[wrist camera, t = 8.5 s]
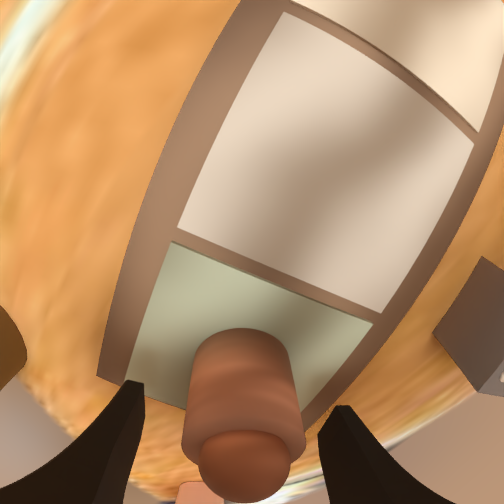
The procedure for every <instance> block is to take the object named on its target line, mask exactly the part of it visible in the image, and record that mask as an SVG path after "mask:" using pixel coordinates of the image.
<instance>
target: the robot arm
mask: <svg viewBox="0 0 504 504" xmlns="http://www.w3.org/2000/svg"><path fill="white" fill-rule="evenodd" d="M144 419H145V398H144V383H141V382H137V381H132V380H126V381H125V382H124V383H123V385H122V386H121V388H120V389H119V391H118V392H117V393H116V395H115V396H114V397H113V399H112V400H111V401H110V402H109V404H108V405H107V406H106V407H105V409H104V410H103V411H102V412H101V413H100V414H99V416H98V417H97V418H96V419H95V420H94V421H93V422H92V424H91V425H90V426H89V427H88V428H87V429H86V430H85V431H84V432H83V433H82V434H81V435H80V436H79V437H78V438H77V439H76V440H75V441H74V442H72V443H71V444H70V445H69V446H68V447H67V448H66V449H64V450H63V451H62V452H61V453H60V454H58V455H57V456H56V457H54V458H53V459H52V460H50V461H49V462H48V463H46V464H45V465H43V466H42V467H40V468H39V469H37V470H35V471H34V472H33V473H31V474H29V475H27V476H25V477H24V478H22V479H20V480H18V481H16V482H14V483H12V484H9V485H7V486H5V487H3V488H0V504H123V499H124V493H125V489H126V485H127V481H128V478H129V475H130V471H131V468H132V465H133V462H134V459H135V455H136V452H137V449H138V446H139V443H140V439H141V435H142V430H143V424H144ZM318 448H319V457H320V461H321V466H322V470H323V474H324V479H325V483H326V487H327V491H328V495H329V500H330V504H455V503H453V502H451V501H449V500H447V499H445V498H443V497H441V496H440V495H438V494H436V493H435V492H433V491H432V490H430V489H429V488H427V487H426V486H424V485H423V484H422V483H420V482H419V481H417V480H416V479H415V478H414V477H413V476H412V475H410V474H409V473H408V472H407V471H406V470H405V469H403V468H402V467H401V466H400V465H399V464H398V463H397V462H396V461H395V460H394V458H393V457H392V456H391V455H390V454H389V453H388V452H387V451H386V450H385V449H384V448H383V446H382V445H381V444H380V443H379V442H378V441H377V439H376V438H375V437H374V436H373V434H372V433H371V432H370V431H369V429H368V428H367V427H366V426H365V424H364V423H363V422H362V421H361V419H360V418H359V417H358V415H357V414H356V413H355V412H354V410H353V409H352V408H351V407H350V405H336V406H335V408H334V409H333V411H332V413H331V414H330V416H329V417H328V419H327V421H326V422H325V424H324V425H323V427H322V428H321V430H320V431H319V433H318Z"/></svg>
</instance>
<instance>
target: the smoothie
mask: <svg viewBox="0 0 504 504" xmlns="http://www.w3.org/2000/svg"><path fill="white" fill-rule="evenodd" d="M175 504H224V499H223V498H221V497H219V496H218V495H216V494H215V493H213V492H212V491H211V490H210V489H209V488H208V487H207V485H206V484H205V483H204V482H186V483H183V484H181V485H180V487H179V491H178V495H177V499H176V503H175Z"/></svg>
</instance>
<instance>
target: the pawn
mask: <svg viewBox="0 0 504 504" xmlns="http://www.w3.org/2000/svg"><path fill="white" fill-rule="evenodd" d="M181 446H182V450H183V452H184V454H185V455H186V456H187V458H188V459H190V460H191V461H192V462H193V463H195V464H197V465H198V467H199V472H200V475H201V477H202V479H203V481H204V483H205V484H206V485H207V487H208V488H209V489H210V490H211V491H212V492H213V493H215V494H216V495H218V496H219V497H221V498H223V499H225V500H228V501H232V502H236V503H254V502H258V501H261V500H264V499H266V498H268V497H270V496H272V495H273V494H275V493H276V492H277V491H278V490H279V489H280V488H281V487H282V486H283V484H284V483H285V481H286V479H287V477H288V475H289V471H290V465H291V463H293V462H294V461H295V460H297V459H298V458H299V457H300V456H301V455H302V454H303V452H304V450H305V448H306V438H305V433H304V428H303V423H302V418H301V413H300V408H299V403H298V398H297V393H296V388H295V384H294V379H293V374H292V369H291V364H290V359H289V355H288V352H287V350H286V348H285V347H284V345H283V344H282V343H281V342H280V341H279V340H278V339H277V338H275V337H274V336H272V335H270V334H268V333H266V332H263V331H260V330H256V329H251V328H233V329H227V330H223V331H220V332H217V333H215V334H213V335H211V336H210V337H208V338H207V339H206V340H204V341H203V342H202V343H201V344H200V346H199V347H198V349H197V350H196V353H195V356H194V362H193V368H192V374H191V380H190V387H189V393H188V400H187V407H186V414H185V421H184V428H183V435H182V443H181Z"/></svg>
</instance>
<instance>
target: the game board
mask: <svg viewBox="0 0 504 504" xmlns="http://www.w3.org/2000/svg"><path fill="white" fill-rule="evenodd" d="M503 125H504V3H503V2H502V1H501V0H241V1H240V3H239V4H238V6H237V7H236V9H235V11H234V12H233V14H232V15H231V17H230V19H229V20H228V22H227V24H226V25H225V27H224V29H223V30H222V32H221V34H220V35H219V37H218V39H217V41H216V42H215V44H214V46H213V48H212V50H211V51H210V53H209V55H208V57H207V59H206V60H205V62H204V64H203V66H202V68H201V70H200V72H199V74H198V76H197V78H196V79H195V81H194V83H193V85H192V87H191V89H190V91H189V93H188V95H187V98H186V100H185V102H184V104H183V106H182V108H181V110H180V112H179V114H178V117H177V119H176V121H175V123H174V125H173V128H172V130H171V132H170V134H169V137H168V139H167V141H166V144H165V146H164V148H163V151H162V153H161V156H160V158H159V160H158V163H157V165H156V168H155V170H154V173H153V176H152V178H151V181H150V183H149V186H148V189H147V191H146V194H145V197H144V200H143V202H142V205H141V208H140V211H139V214H138V217H137V219H136V222H135V225H134V228H133V231H132V235H131V238H130V241H129V244H128V247H127V250H126V254H125V257H124V260H123V264H122V267H121V271H120V274H119V278H118V281H117V285H116V289H115V292H114V296H113V300H112V304H111V308H110V312H109V316H108V321H107V325H106V330H105V334H104V339H103V343H102V348H101V353H100V358H99V364H98V369H97V375H96V376H98V377H100V378H103V379H105V380H107V381H109V382H112V383H114V384H116V385H119V386H122V385H123V383H124V382H125V381H126V380H132V381H137V382H141V383H144V396H146V397H149V398H152V399H155V400H157V401H160V402H163V403H166V404H169V405H172V406H175V407H178V408H181V409H184V410H186V407H187V400H188V393H189V387H190V380H191V374H192V368H193V362H194V356H195V353H196V350H197V349H198V347H199V346H200V344H201V343H202V342H203V341H204V340H206V339H207V338H208V337H210V336H211V335H213V334H215V333H217V332H220V331H223V330H227V329H233V328H251V329H256V330H260V331H263V332H266V333H268V334H270V335H272V336H274V337H275V338H277V339H278V340H279V341H280V342H281V343H282V344H283V345H284V347H285V348H286V350H287V352H288V355H289V359H290V364H291V369H292V374H293V379H294V384H295V388H296V393H297V398H298V403H299V408H300V413H301V418H302V423H303V428H304V432H305V431H306V430H307V429H308V428H309V427H310V426H311V425H312V424H314V423H315V422H316V421H317V420H318V419H319V417H320V416H321V415H322V414H323V413H324V412H325V411H326V410H327V409H328V408H329V407H330V406H331V405H332V404H333V403H334V402H335V401H336V400H337V399H338V398H339V396H340V395H341V394H342V393H343V392H344V391H345V390H346V389H347V388H348V387H349V385H350V384H351V383H352V382H353V381H354V380H355V379H356V377H357V376H358V375H359V374H360V373H361V372H362V370H363V369H364V368H365V367H366V366H367V364H368V363H369V362H370V361H371V360H372V358H373V357H374V356H375V355H376V353H377V352H378V351H379V350H380V348H381V347H382V346H383V344H384V343H385V342H386V341H387V339H388V338H389V337H390V335H391V334H392V333H393V331H394V330H395V329H396V327H397V326H398V325H399V323H400V322H401V320H402V319H403V318H404V316H405V315H406V313H407V312H408V311H409V309H410V308H411V306H412V305H413V303H414V302H415V300H416V299H417V297H418V296H419V294H420V293H421V291H422V290H423V288H424V287H425V285H426V284H427V282H428V281H429V279H430V277H431V276H432V274H433V273H434V271H435V269H436V268H437V266H438V264H439V263H440V261H441V259H442V258H443V256H444V254H445V252H446V251H447V249H448V247H449V245H450V244H451V242H452V240H453V238H454V236H455V235H456V233H457V231H458V229H459V227H460V225H461V223H462V221H463V219H464V217H465V215H466V214H467V212H468V209H469V207H470V205H471V203H472V201H473V199H474V197H475V195H476V193H477V191H478V188H479V186H480V184H481V182H482V179H483V177H484V175H485V172H486V170H487V168H488V165H489V163H490V160H491V158H492V155H493V153H494V150H495V147H496V145H497V142H498V139H499V136H500V134H501V131H502V128H503Z"/></svg>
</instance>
